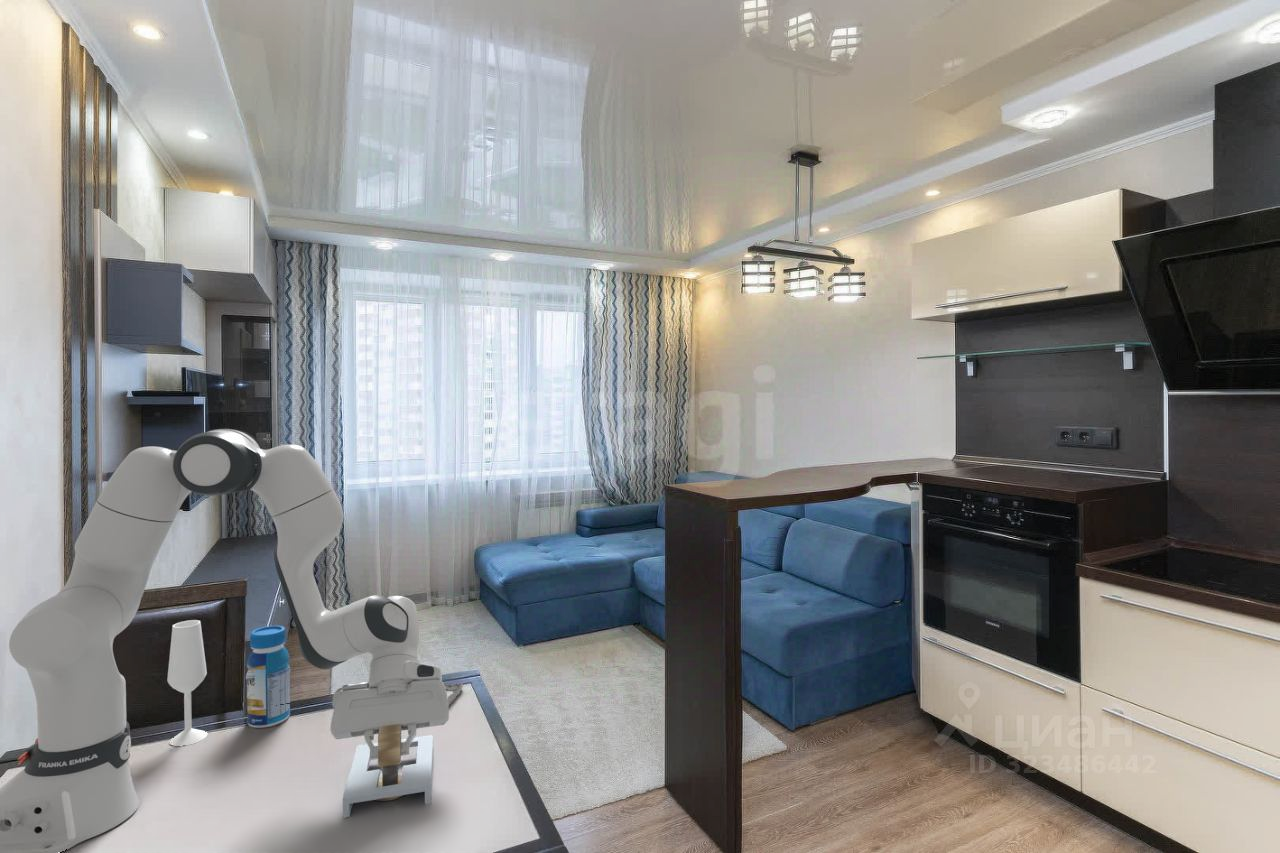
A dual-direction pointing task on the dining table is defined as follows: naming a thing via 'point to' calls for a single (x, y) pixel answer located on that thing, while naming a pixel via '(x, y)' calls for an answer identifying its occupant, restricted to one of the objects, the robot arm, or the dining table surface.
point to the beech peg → (389, 757)
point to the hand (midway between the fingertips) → (389, 756)
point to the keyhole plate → (366, 783)
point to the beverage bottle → (268, 678)
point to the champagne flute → (187, 673)
